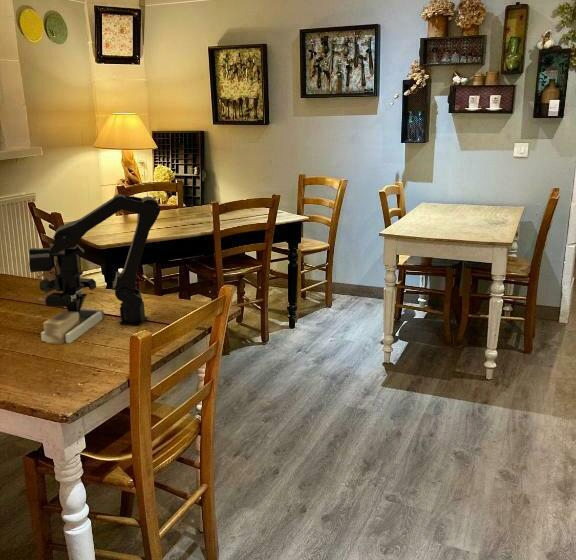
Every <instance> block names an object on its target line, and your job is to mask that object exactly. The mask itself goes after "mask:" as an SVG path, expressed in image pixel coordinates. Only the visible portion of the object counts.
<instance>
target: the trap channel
mask: <svg viewBox="0 0 576 560" xmlns="http://www.w3.org/2000/svg"><path fill="white" fill-rule="evenodd" d="M104 312H105V311H104V310H100V309H86V308H81V309H80V312H79V323H80V325H78V326H77V327H75V328H74V329H73V330H71V331H70V332H68V333H67V334H66V335H65V336H66V341H65V343H66V344H71V343H73V342H74V341H75V340H77V339H78V338H79V337H81V336H82V335H83V334H85V333H86V332H87V331H89V330H90V329H92V327H94V326H95V325H96V324H98V323H100V322H101V321H102V320H103V319H104V318H105V314H104ZM40 337H41V342H46V340H45V333H44V330H43V331H41V332H40Z"/></svg>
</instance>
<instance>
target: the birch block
mask: <svg viewBox="0 0 576 560" xmlns="http://www.w3.org/2000/svg"><path fill="white" fill-rule="evenodd" d="M42 325H43V331H44V333H45V340H46V341H45V343H46V344H55V345H56V344H57V345H63V344H64V343H66V336H65V335H66V334H67V333H68V332H70V331H71V330H73V329H74V328H75V327H77V326H78V325H80V323H79V314H78V312H73V311H68V310H61V311H60V312H58V313H57V314H55V315H54V316H52V317H51V318H48V319H47V320H46V321H44V322H43V323H42Z"/></svg>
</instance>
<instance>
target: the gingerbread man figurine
mask: <svg viewBox="0 0 576 560" xmlns="http://www.w3.org/2000/svg"><path fill="white" fill-rule="evenodd" d="M55 275H56V269H55V267H53V269H52V271H43V272H37V274H36V276H37V279H38V280H39V282H40V281H42V280H43V279H41V277H43V278H47V279H48V280H49V279H52V278H55ZM52 293H56V291H55V290H53V291H49V292H48V293H45V291H44V292H43V294H42V296H39V298H38V300H37V301H38V303H42V304H43V302H44V303H45V298H46V297H47V296H49V295H50V294H52ZM58 293H62V291H60V292H58Z"/></svg>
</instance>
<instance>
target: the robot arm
mask: <svg viewBox="0 0 576 560" xmlns="http://www.w3.org/2000/svg"><path fill="white" fill-rule="evenodd" d="M122 210H123V211H126V212H129V213H134V214H137V215H136V216H137V218H136V226H135V227H136V228H135V230H134V234H133V237H132V241H131V243H130V247H129V250H128V254H127V257H126V260H125V264H124V267H123V268H122V270H121V272H119V271H115V278H114V281H113V282H112V289H113V290H114V295H115V297H116V299H117V300H118V301H120V302H121V303H120V307H119V313H120V314H119V315H120V322H119V324H120V325H129V326H141V325H142V324H143V323H144V322H145V321H146V320H147V319H148V316H146V313H145V301H143V296H142V292H141V291H140V289H138V288H136V286H137V273H138V270H139V267H140V263H141V260H142V257H143V253H144V250H145V247H146V243H147V240H148V236H149V234H150V231H151V230H152V229H151V228H153V226H154V225H155V223H156V221H157V219H158V217H159V216H160V212H161V206H160V204H159V202H158V201H157V200H156V198H154V197H153V196H149V195H148V196H145V197H137V196H132V195H124V194H121V193H118V194H115V195H114V196H113V197H112V198H111V199H109V200H107V201H106V202H105V203H103V204H101V205H100V206H98V207H96V208H95V209H93V210H92V211H90V212H89V213H87V214H85V215H84V216H83V217H81V218H78V219H76V220H74V221H70V222H68V223H66V224H62V225H60V226H59V227H58V228H56V230H55V232H54V233H55V234H54V236H53V237H54V238H53V241H52V243H50V245H49V247H43V248H42V247H41V248H36V247H35V248H33V247H32V248H29V249H28V253H29V255H28V257H29V262H28V264H29V270H30V273H39V272H42V273H44V271H52V270H54V269H53V268H56V266H57V267H58V273H55V274H54V276H55V277H53V278H52V279H48V278H45V279H41V280H42V281H40V280H39V290H41V292H42V293H44V292H45V293H46V294H48V295H49V293H50V291H51V293H50V295H49V296H47V297H46V298H45V302H44V304H45V306H46V307H55V308H64V307H66V309H67V311H73V312H78V314H79V312H80V309H82V307H83V304H84V302H85V300H86V297H87V296H88V293H83V290H84V289H85V288H88V289H89V290H91V291H93V290H95V289H97V281H96V280H95V279H93V278H87V277H86V278H84V277H81V276H83V274H84V271H83V270H80V263H79V255H84V254H85V249H84V248H83V247H81V246H80V245H79V244H76V243H78V241H80V240H81V239H82V238H83V237H84V236H85V235H86V234H87V232H89V231H90V230H92V229H93V228H95V227H96V226H98V225H99V224H102V222H105V221H106V220H107V219H108V218H111V216H114V215H115V214H117V213H118V212H120V211H122ZM75 244H76V246H75V247H74V245H75ZM56 258H57V259H56ZM56 260H57V261H56ZM56 263H57V265H56ZM52 272H53V271H52ZM53 291H55V293H53ZM60 291H61V293H59V292H60Z"/></svg>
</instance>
